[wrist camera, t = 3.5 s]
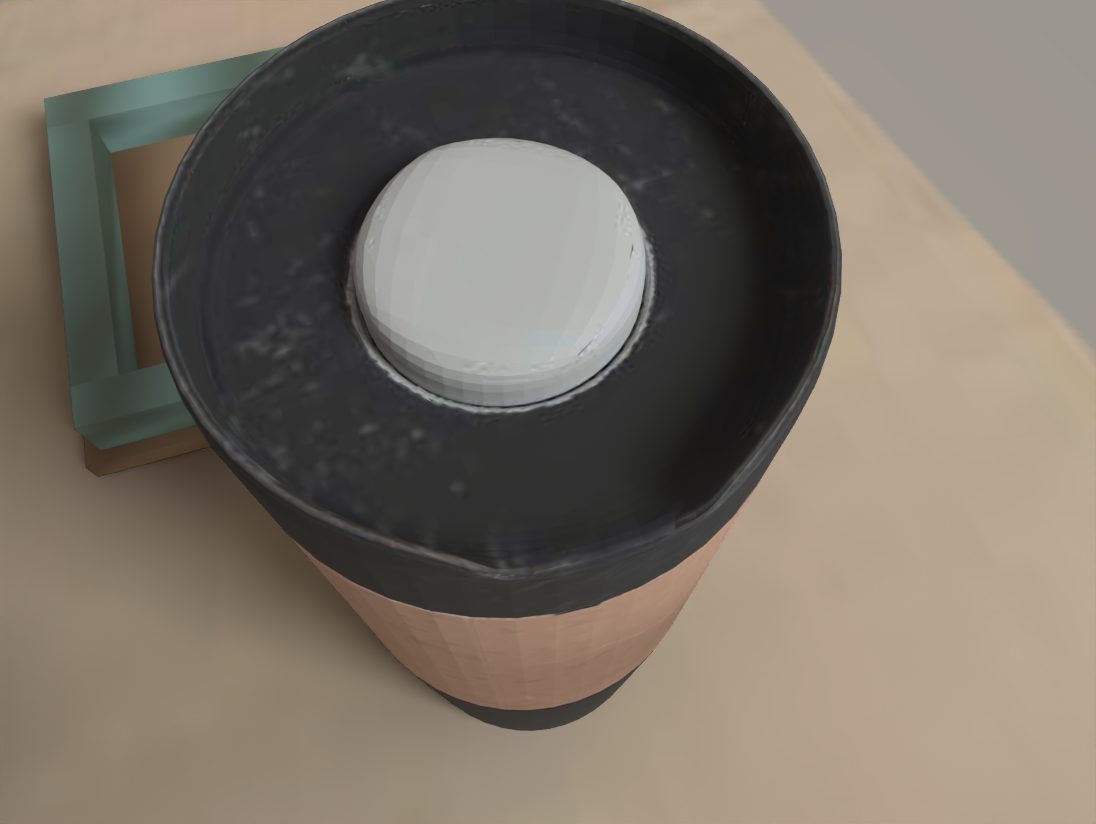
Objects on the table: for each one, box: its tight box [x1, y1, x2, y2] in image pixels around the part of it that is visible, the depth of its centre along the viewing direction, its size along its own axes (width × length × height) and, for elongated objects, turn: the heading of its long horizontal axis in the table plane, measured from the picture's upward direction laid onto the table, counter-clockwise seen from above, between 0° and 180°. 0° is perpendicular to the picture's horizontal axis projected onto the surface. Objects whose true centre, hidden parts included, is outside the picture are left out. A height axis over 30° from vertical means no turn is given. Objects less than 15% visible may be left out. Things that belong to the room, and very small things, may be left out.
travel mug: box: [151, 0, 842, 731], centre depth 19 cm, size 8×8×20 cm
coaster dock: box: [44, 46, 287, 477], centre depth 32 cm, size 15×15×3 cm
